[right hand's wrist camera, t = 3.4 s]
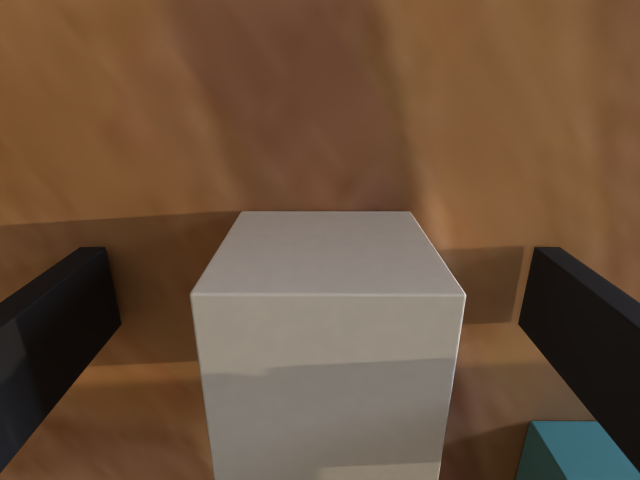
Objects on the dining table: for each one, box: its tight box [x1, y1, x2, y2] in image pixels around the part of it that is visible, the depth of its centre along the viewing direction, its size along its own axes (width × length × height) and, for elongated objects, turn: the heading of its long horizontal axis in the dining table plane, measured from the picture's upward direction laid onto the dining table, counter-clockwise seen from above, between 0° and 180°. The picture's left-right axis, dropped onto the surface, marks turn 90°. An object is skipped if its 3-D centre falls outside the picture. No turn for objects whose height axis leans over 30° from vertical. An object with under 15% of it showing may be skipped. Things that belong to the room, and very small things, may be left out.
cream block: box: [190, 211, 466, 480], centre depth 10 cm, size 5×5×5 cm
